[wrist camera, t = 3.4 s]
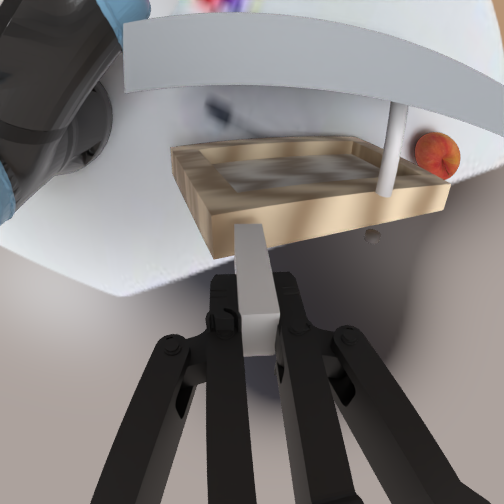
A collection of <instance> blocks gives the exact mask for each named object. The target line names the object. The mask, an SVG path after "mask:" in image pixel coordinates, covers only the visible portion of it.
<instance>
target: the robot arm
mask: <svg viewBox="0 0 504 504" xmlns="http://www.w3.org/2000/svg"><path fill="white" fill-rule="evenodd" d="M150 12H151V5H150V2H149V0H0V225H2V224H3V223H4V222H5V221H7V220H9V219H11V218H12V216H13V214H14V213H15V212H16V211H17V210H18V209H19V208H20V207H21V206H22V205H23V204H24V203H25V202H26V201H27V200H28V199H29V198H30V197H31V196H32V195H33V194H35V193H36V192H37V191H38V190H39V189H40V188H41V187H42V186H43V185H45V184H46V183H47V182H48V181H49V180H50V179H52V178H53V177H54V176H56V175H62V174H68V173H72V172H75V171H78V170H80V169H82V168H84V167H85V166H86V165H88V164H89V163H90V162H91V161H93V160H94V159H95V158H96V157H97V156H98V155H99V154H100V152H101V151H102V150H103V148H104V147H105V145H106V143H107V141H108V138H109V135H110V132H111V127H112V108H111V103H110V100H109V97H108V94H107V92H106V90H105V89H104V87H103V86H102V85H101V83H100V82H99V79H100V78H101V77H102V75H103V74H104V73H105V71H106V70H107V69H108V67H109V66H110V65H111V64H112V62H113V61H114V60H115V59H116V57H117V56H118V55H119V54H120V52H121V51H122V52H123V23H128V22H133V21H139V20H145V19H148V18H149V16H150ZM234 256H235V274H223V275H215V276H214V278H213V279H212V281H211V285H210V311H209V312H208V313H207V316H206V325H207V329H206V330H205V331H204V332H203V333H201V334H200V335H198V336H195V337H192V338H188V339H185V338H184V337H183V336H180V335H177V334H171V335H166V336H164V337H163V338H161V339H160V340H159V341H158V343H157V344H156V346H155V348H154V350H153V352H152V354H151V357H150V359H149V361H148V363H147V365H146V368H145V370H144V372H143V374H142V377H141V379H140V381H139V383H138V386H137V388H136V390H135V392H134V395H133V397H132V399H131V402H130V404H129V407H128V409H127V411H126V413H125V416H124V418H123V421H122V423H121V426H120V428H119V430H118V433H117V435H116V438H115V440H114V442H113V445H112V448H111V450H110V452H109V455H108V458H107V460H106V463H105V465H104V468H103V471H102V473H101V476H100V478H99V481H98V484H97V487H96V489H95V492H94V495H93V498H92V500H91V503H90V504H160V503H161V499H162V496H163V493H164V489H165V486H166V483H167V480H168V476H169V473H170V469H171V467H172V463H173V460H174V457H175V454H176V451H177V447H178V444H179V440H180V437H181V434H182V431H183V428H184V425H185V422H186V419H187V415H188V412H189V409H190V406H191V403H192V399H193V397H194V393H195V390H196V387H197V385H198V384H201V383H204V382H206V442H207V484H208V504H257V502H256V493H255V483H254V472H253V462H252V451H251V440H250V429H249V417H248V406H247V393H246V382H245V369H244V357H245V356H264V355H274V353H275V352H276V364H275V370H274V375H276V374H277V379H278V386H279V393H280V399H281V406H282V413H283V419H284V427H285V433H286V440H287V447H288V454H289V460H290V468H291V475H292V481H293V489H294V495H295V502H296V504H364V503H363V501H362V499H361V498H360V497H359V496H358V495H357V494H356V492H355V489H354V485H353V481H352V476H351V471H350V467H349V462H348V458H347V454H346V450H345V445H344V441H343V437H342V432H341V428H340V424H339V420H338V416H337V412H336V408H335V404H334V401H335V402H336V404H337V406H338V408H339V410H340V412H341V413H342V415H343V417H344V419H345V420H346V422H347V424H348V426H349V428H350V429H351V431H352V433H353V435H354V437H355V438H356V440H357V442H358V444H359V445H360V447H361V449H362V451H363V453H364V455H365V457H366V458H367V460H368V462H369V464H370V466H371V467H372V469H373V471H374V472H375V475H376V476H377V478H378V480H379V482H380V484H381V485H382V487H383V489H384V491H385V492H386V494H387V496H388V498H389V500H390V501H391V503H392V504H491V503H490V502H489V501H487V500H486V499H484V498H483V497H482V496H480V495H479V494H477V493H476V492H474V491H473V490H472V489H470V488H469V487H467V486H466V485H465V484H463V483H462V482H460V480H459V478H458V476H457V475H456V473H455V471H454V470H453V468H452V467H451V465H450V463H449V462H448V460H447V458H446V457H445V455H444V453H443V452H442V450H441V449H440V447H439V445H438V444H437V442H436V441H435V439H434V438H433V436H432V434H431V433H430V431H429V430H428V428H427V427H426V425H425V424H424V422H423V421H422V419H421V417H420V416H419V414H418V413H417V411H416V410H415V408H414V407H413V405H412V404H411V402H410V401H409V399H408V398H407V397H406V395H405V393H404V392H403V390H402V389H401V387H400V386H399V385H398V383H397V382H396V380H395V379H394V377H393V376H392V375H391V373H390V372H389V370H388V369H387V367H386V365H385V364H384V363H383V361H382V360H381V358H380V357H379V355H378V354H377V353H376V351H375V350H374V348H373V347H372V346H371V344H370V343H369V341H368V340H367V339H366V337H365V336H364V334H363V333H362V332H361V331H360V330H359V329H357V328H356V327H354V326H349V325H345V326H341V327H339V328H337V329H336V331H335V332H332V331H327V330H322V329H319V328H317V327H315V326H313V325H312V323H311V322H310V321H309V320H308V319H307V317H306V313H305V310H304V306H303V303H302V299H301V296H300V292H299V289H298V285H297V282H296V279H295V277H294V276H293V275H292V274H291V273H290V272H272V270H271V265H270V261H269V255H268V251H267V246H266V241H265V236H264V231H263V227H262V224H234ZM333 399H334V400H333Z"/></svg>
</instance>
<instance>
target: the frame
mask: <svg viewBox="0 0 504 504" xmlns="http://www.w3.org/2000/svg"><path fill="white" fill-rule="evenodd" d="M170 149H171V162H172V174H173V176H174V178H175V181H176V183H177V185H178V187H179V189H180V191H181V193H182V195H183V198H184V200H185V202H186V204H187V206H188V208H189V210H190V212H191V214H192V216H193V218H194V220H195V223H196V225H197V227H198V229H199V231H200V233H201V235H202V237H203V239H204V241H205V243H206V245H207V247H208V249H209V251H210V253H211V255H212V257H213V259H219V258H223V257H228V256H232V255H234V224H262V227H263V231H264V236H265V241H266V246H267V248H269V247H274V246H279V245H283V244H288V243H292V242H297V241H302V240H306V239H311V238H315V237H320V236H325V235H329V234H334V233H339V232H343V231H348V230H352V229H357V228H362V227H366V226H371V225H376V224H380V223H385V222H390V221H394V220H398V219H403V218H408V217H412V216H417V215H422V214H427V213H431V212H436V211H441V210H443V209H444V206H445V203H446V199H447V196H448V193H449V189H450V186H451V184H450V183H448V182H447V181H445V180H443V179H441V178H440V177H438V176H436V175H434V174H432V173H430V172H429V171H427V170H425V169H423V168H421V167H419V166H417V165H415V164H413V163H411V162H409V161H407V160H405V159H403V158H401V157H400V159H399V163H398V168H397V173H396V178H395V182H394V186H393V191H392V195H391V197H382V196H380V195H378V194H376V192H375V191H376V186H377V182H378V177H379V172H380V167H381V161H382V156H383V150H384V149H382V148H380V147H378V146H375V145H373V144H371V143H368V142H366V141H364V140H361V139H359V138H357V137H345V136H301V137H272V138H255V139H241V140H229V141H218V142H209V143H200V144H191V145H184V146H176V147H170ZM380 236H381V234H380V233H379V232H378V231H376V230H373V229H368V230H366V233H365V238H364V239H365V241H366V242H368V243H370V244H378V243H379V240H380Z"/></svg>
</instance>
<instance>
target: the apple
mask: <svg viewBox="0 0 504 504" xmlns="http://www.w3.org/2000/svg"><path fill="white" fill-rule="evenodd" d="M415 157H416V161H417V163H418V166H419V167H421V168H423V169H425V170H427V171H429V172H430V173H432V174H434V175H436V176H438V177H440V178H441V179H443V180H446V179H448V178H450V177H451V176H452V175H453V174H454V173H455V172H456V171H457V169H458V167H459V164H460V151H459V148H458V146H457V144H456V143H455V142H454V140H452V139H451V138H450V137H449V136H447V135H445V134H443V133H438V132H432V133H428V134H425V135H424V136H422V137H421V138H420V139H419V140H418V142H417V144H416V147H415Z"/></svg>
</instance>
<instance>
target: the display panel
mask: <svg viewBox="0 0 504 504" xmlns="http://www.w3.org/2000/svg"><path fill="white" fill-rule="evenodd" d="M123 67H124V90H125V93H131V92H138V91H146V90H154V89H164V88H175V87H188V86H207V85H266V86H285V87H298V88H309V89H319V90H327V91H335V92H342V93H349V94H355V95H361V96H367V97H372V98H377V99H382V100H387V101H391V104H390V112H389V119H388V126H387V132H386V139H385V145H384V150H383V156H382V161H381V167H380V172H379V177H378V182H377V186H376V191H375V192H376V194H378V195H380V196H382V197H391V195H392V191H393V186H394V182H395V178H396V173H397V168H398V163H399V159H400V154H401V148H402V143H403V137H404V131H405V125H406V119H407V112H408V105H409V106H413V107H417V108H421V109H424V110H428V111H432V112H435V113H438V114H442V115H445V116H448V117H451V118H454V119H458V120H461V121H463V122H466V123H469V124H472V125H475V126H477V127H480V128H483V129H485V130H488V131H490V132H493V133H495V134H498V135H500V136H502V137H504V85H502V84H500V83H499V82H497V81H495V80H493V79H492V78H490V77H488V76H486V75H484V74H483V73H481V72H479V71H477V70H475V69H473V68H471V67H469V66H467V65H465V64H463V63H461V62H458V61H456V60H454V59H452V58H450V57H447V56H445V55H443V54H440V53H438V52H436V51H433V50H431V49H428V48H425V47H423V46H420V45H417V44H414V43H412V42H409V41H406V40H403V39H400V38H397V37H393V36H390V35H387V34H383V33H380V32H376V31H372V30H369V29H365V28H361V27H356V26H352V25H347V24H342V23H337V22H332V21H327V20H321V19H314V18H307V17H299V16H291V15H280V14H267V13H242V12H223V13H198V14H185V15H174V16H166V17H159V18H152V19H145V20H139V21H133V22H128V23H123Z"/></svg>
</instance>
